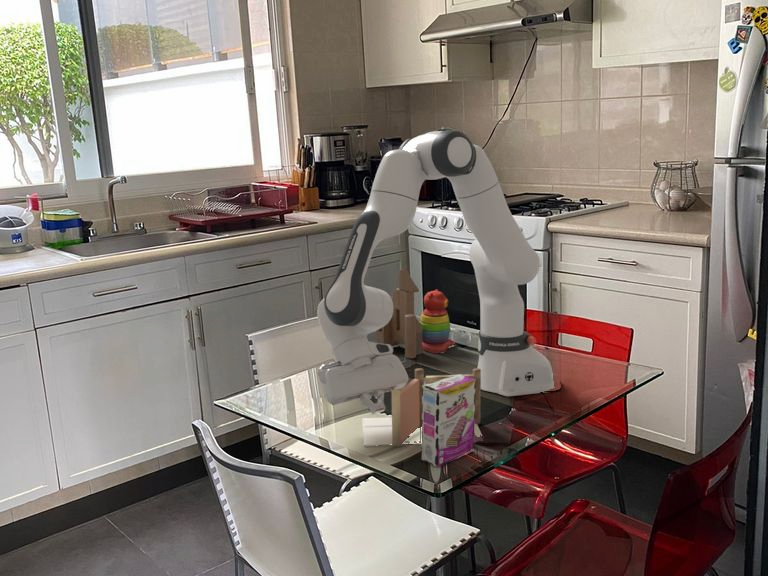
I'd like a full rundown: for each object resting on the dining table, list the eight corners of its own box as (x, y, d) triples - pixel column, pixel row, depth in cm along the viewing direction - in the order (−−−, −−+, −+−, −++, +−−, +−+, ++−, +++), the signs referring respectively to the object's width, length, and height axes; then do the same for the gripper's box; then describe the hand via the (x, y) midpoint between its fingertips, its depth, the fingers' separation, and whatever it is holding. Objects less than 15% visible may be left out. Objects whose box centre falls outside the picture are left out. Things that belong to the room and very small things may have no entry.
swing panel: (413, 424, 174) (412, 373, 171) (420, 425, 173) (420, 374, 170) (390, 445, 163) (390, 391, 160) (398, 447, 162) (397, 392, 160)
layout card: (472, 415, 180) (472, 414, 180) (485, 443, 165) (485, 441, 165) (362, 420, 179) (362, 418, 179) (364, 448, 164) (364, 446, 164)
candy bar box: (437, 469, 153) (437, 391, 150) (420, 461, 157) (420, 384, 154) (476, 452, 161) (476, 378, 157) (458, 445, 164) (459, 372, 161)
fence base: (479, 422, 177) (480, 366, 174) (481, 425, 175) (481, 369, 172) (414, 424, 176) (414, 368, 173) (415, 428, 174) (415, 371, 171)
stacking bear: (442, 354, 228) (442, 296, 224) (412, 350, 233) (412, 292, 229) (458, 345, 237) (458, 289, 233) (429, 341, 242) (429, 286, 238)
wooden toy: (375, 348, 235) (373, 268, 230) (391, 344, 239) (390, 265, 234) (410, 359, 224) (409, 275, 218) (426, 354, 228) (426, 272, 223)
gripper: (319, 359, 167) (343, 415, 161) (397, 343, 178) (422, 395, 172) (310, 373, 172) (333, 428, 166) (386, 357, 183) (410, 408, 177)
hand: (379, 411), depth 169 cm, fingers closed
